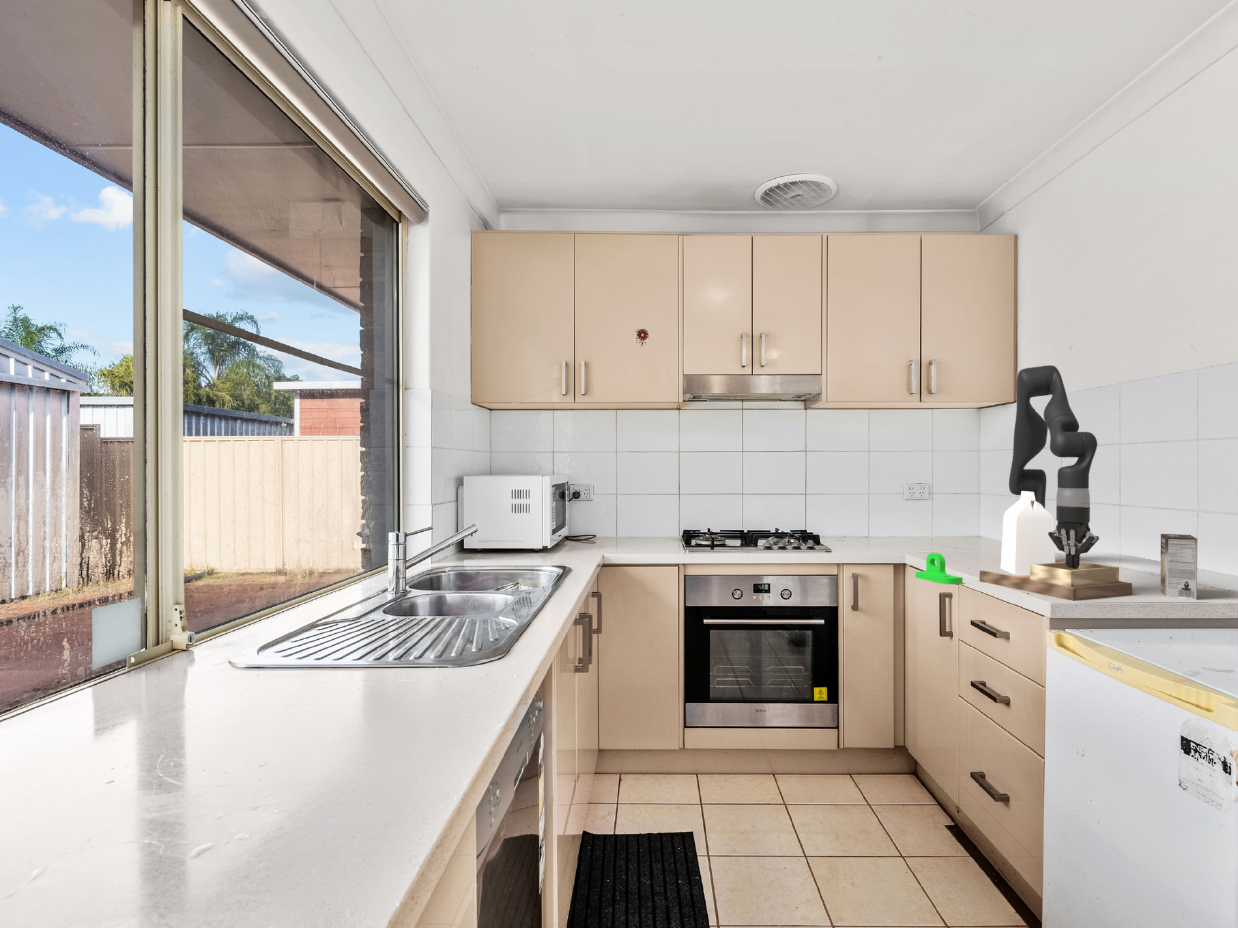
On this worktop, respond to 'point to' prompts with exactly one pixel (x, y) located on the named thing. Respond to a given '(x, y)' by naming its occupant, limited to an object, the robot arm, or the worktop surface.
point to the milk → (1026, 536)
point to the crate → (1074, 574)
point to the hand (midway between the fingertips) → (1072, 567)
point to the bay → (1057, 587)
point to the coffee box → (1179, 565)
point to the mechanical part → (937, 571)
